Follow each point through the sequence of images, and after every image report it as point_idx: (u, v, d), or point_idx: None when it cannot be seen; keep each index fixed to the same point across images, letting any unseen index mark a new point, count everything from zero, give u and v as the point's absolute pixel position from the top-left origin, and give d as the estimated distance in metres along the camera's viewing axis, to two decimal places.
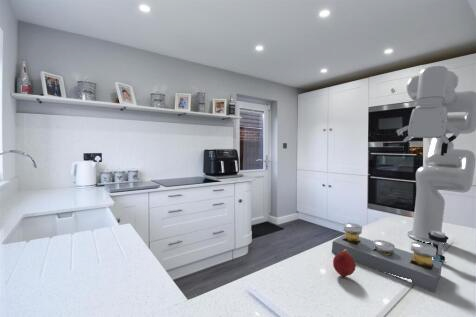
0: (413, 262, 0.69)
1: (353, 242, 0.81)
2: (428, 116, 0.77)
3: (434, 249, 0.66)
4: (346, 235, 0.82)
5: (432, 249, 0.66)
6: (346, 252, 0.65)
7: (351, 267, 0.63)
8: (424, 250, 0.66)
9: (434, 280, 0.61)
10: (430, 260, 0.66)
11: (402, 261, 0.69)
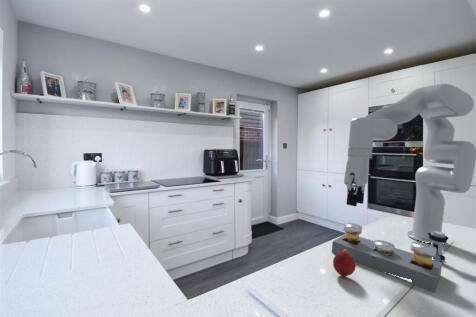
0: (413, 262, 0.69)
1: (353, 242, 0.81)
2: (365, 166, 0.79)
3: (434, 249, 0.66)
4: (346, 235, 0.82)
5: (432, 249, 0.66)
6: (346, 252, 0.65)
7: (351, 267, 0.63)
8: (424, 250, 0.66)
9: (434, 280, 0.61)
10: (430, 260, 0.66)
11: (402, 261, 0.69)
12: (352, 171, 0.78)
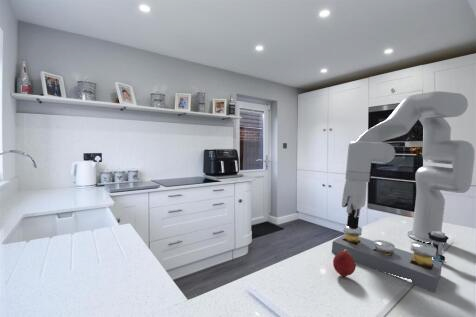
0: (413, 262, 0.69)
1: (353, 243, 0.81)
2: (363, 189, 0.80)
3: (434, 249, 0.66)
4: (346, 236, 0.82)
5: (432, 249, 0.66)
6: (346, 252, 0.65)
7: (351, 267, 0.63)
8: (424, 250, 0.66)
9: (434, 280, 0.61)
10: (430, 260, 0.66)
11: (402, 261, 0.69)
12: (350, 195, 0.78)
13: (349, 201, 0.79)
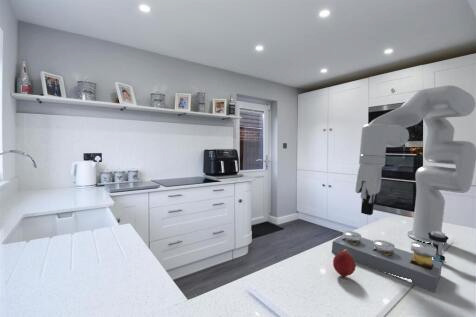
0: (413, 262, 0.69)
1: None
2: (378, 174, 0.77)
3: (434, 249, 0.66)
4: None
5: (432, 249, 0.66)
6: (346, 252, 0.65)
7: (351, 267, 0.63)
8: (424, 250, 0.66)
9: (434, 280, 0.61)
10: (430, 260, 0.66)
11: (402, 261, 0.69)
12: (364, 179, 0.75)
13: (363, 186, 0.76)
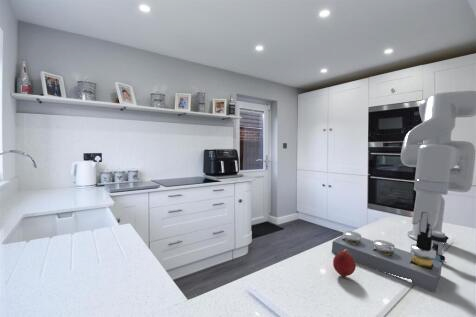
0: None
1: None
2: None
3: (434, 252, 0.66)
4: None
5: (432, 252, 0.66)
6: (346, 252, 0.65)
7: (351, 267, 0.63)
8: (424, 253, 0.66)
9: (434, 280, 0.61)
10: (430, 262, 0.66)
11: (402, 261, 0.69)
12: (425, 210, 0.64)
13: (423, 218, 0.64)
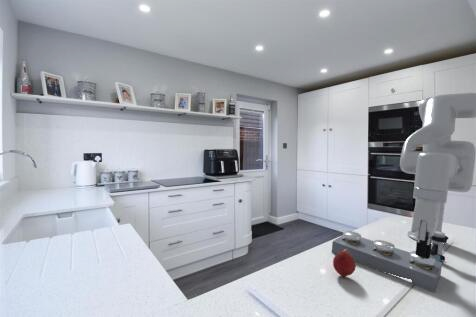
0: None
1: None
2: None
3: (433, 259, 0.66)
4: None
5: (431, 259, 0.66)
6: (346, 252, 0.65)
7: (351, 267, 0.63)
8: (423, 260, 0.66)
9: (434, 280, 0.61)
10: None
11: (402, 261, 0.69)
12: (424, 218, 0.64)
13: (422, 226, 0.64)
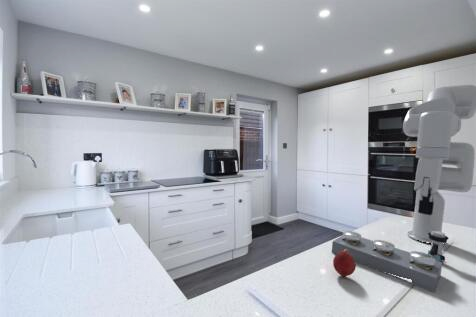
0: None
1: None
2: (440, 168, 0.67)
3: (433, 259, 0.66)
4: None
5: (431, 259, 0.66)
6: (346, 252, 0.65)
7: (351, 267, 0.63)
8: (423, 260, 0.66)
9: (434, 280, 0.61)
10: None
11: (402, 261, 0.69)
12: (426, 175, 0.66)
13: (425, 183, 0.66)
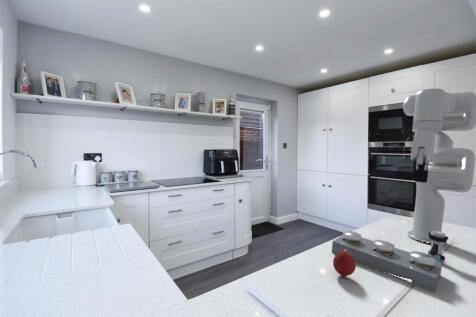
0: None
1: None
2: None
3: (433, 259, 0.66)
4: None
5: (431, 259, 0.66)
6: (346, 252, 0.65)
7: (351, 267, 0.63)
8: (423, 260, 0.66)
9: (434, 280, 0.61)
10: None
11: (402, 261, 0.69)
12: (421, 145, 0.74)
13: (420, 152, 0.74)
